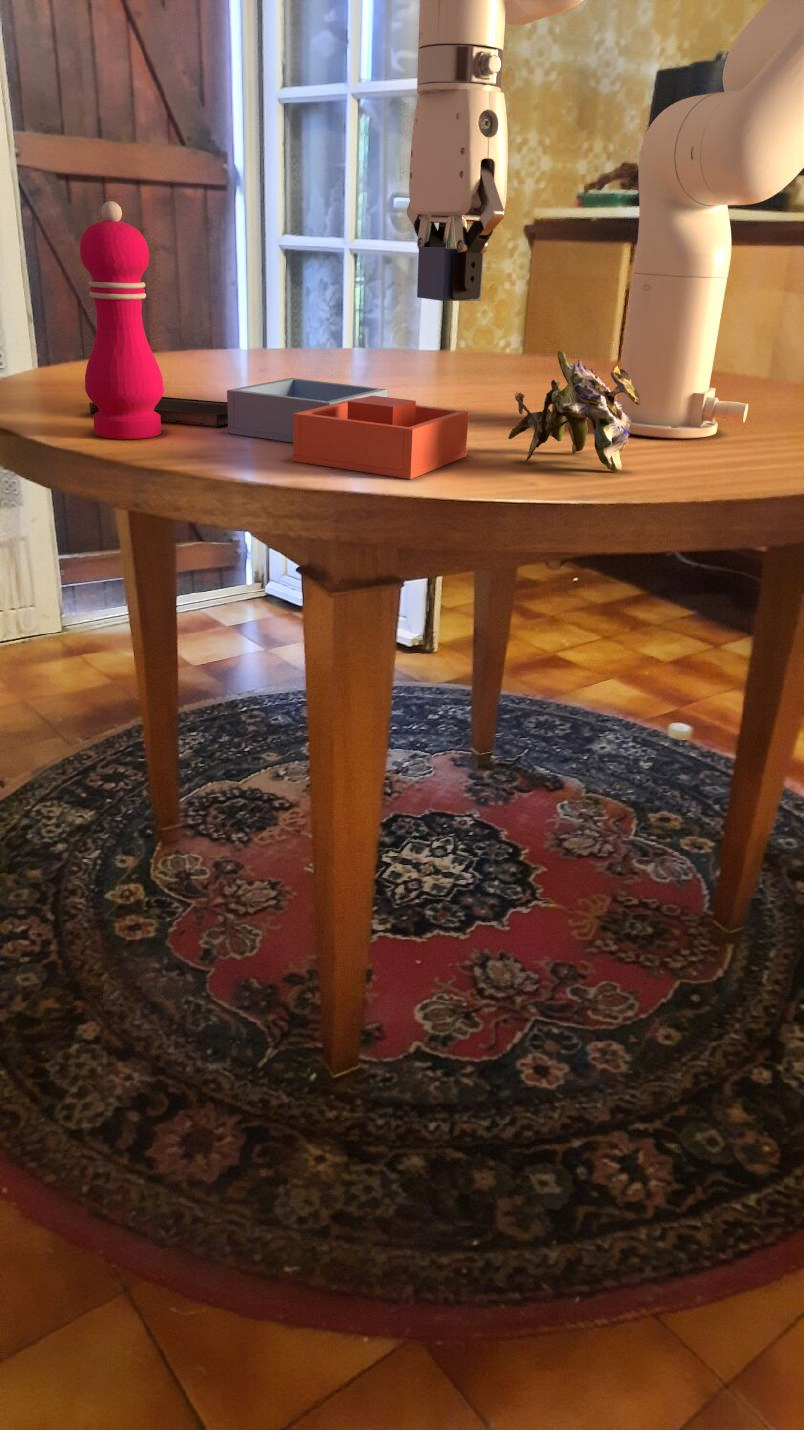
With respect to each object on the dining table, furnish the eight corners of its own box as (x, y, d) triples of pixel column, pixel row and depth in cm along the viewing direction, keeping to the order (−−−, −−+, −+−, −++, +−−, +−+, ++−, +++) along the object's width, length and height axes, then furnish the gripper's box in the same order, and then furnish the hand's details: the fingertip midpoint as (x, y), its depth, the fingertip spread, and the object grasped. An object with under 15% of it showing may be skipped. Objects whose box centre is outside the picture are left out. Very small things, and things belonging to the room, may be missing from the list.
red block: (413, 451, 93) (416, 400, 91) (391, 459, 89) (393, 407, 87) (370, 445, 95) (371, 395, 93) (346, 453, 91) (347, 401, 89)
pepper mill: (176, 429, 101) (163, 204, 92) (153, 442, 95) (137, 202, 86) (105, 424, 102) (86, 200, 93) (77, 438, 95) (54, 198, 86)
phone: (120, 393, 112) (249, 403, 109) (121, 404, 112) (250, 414, 109) (84, 403, 105) (221, 415, 102) (85, 415, 105) (221, 426, 102)
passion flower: (602, 529, 94) (646, 437, 84) (488, 499, 94) (518, 404, 83) (616, 441, 100) (658, 345, 89) (508, 413, 99) (538, 314, 89)
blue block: (481, 300, 98) (484, 249, 96) (442, 301, 96) (445, 248, 94) (454, 297, 102) (456, 247, 100) (416, 297, 99) (418, 246, 97)
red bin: (465, 456, 95) (468, 411, 93) (410, 479, 85) (412, 429, 84) (357, 441, 99) (357, 397, 98) (293, 461, 90) (292, 413, 88)
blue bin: (386, 430, 105) (388, 389, 103) (329, 448, 96) (329, 403, 94) (291, 417, 110) (291, 377, 108) (227, 433, 100) (226, 390, 98)
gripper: (553, 71, 86) (534, 303, 94) (440, 87, 99) (432, 290, 107) (481, 62, 83) (468, 304, 91) (374, 80, 95) (371, 291, 103)
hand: (448, 294), depth 99 cm, fingers closed on blue block, 4 cm apart
